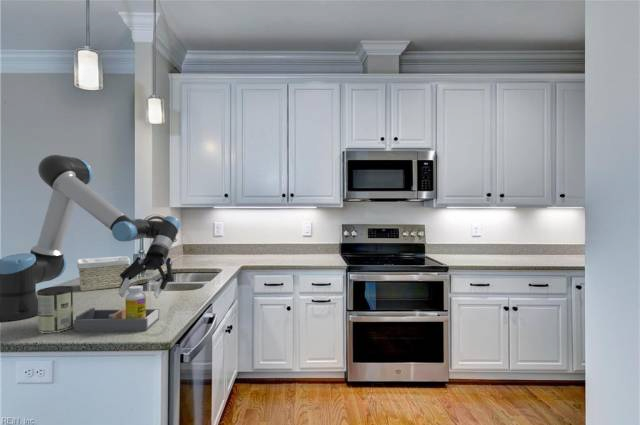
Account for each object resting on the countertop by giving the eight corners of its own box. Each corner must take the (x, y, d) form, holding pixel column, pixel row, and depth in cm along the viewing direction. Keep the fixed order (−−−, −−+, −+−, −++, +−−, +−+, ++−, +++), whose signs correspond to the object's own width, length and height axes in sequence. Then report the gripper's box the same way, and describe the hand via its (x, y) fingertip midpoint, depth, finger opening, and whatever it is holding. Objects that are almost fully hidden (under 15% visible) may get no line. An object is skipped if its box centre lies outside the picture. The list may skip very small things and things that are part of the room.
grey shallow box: (74, 331, 133) (74, 317, 133) (93, 320, 146) (93, 307, 146) (146, 330, 135) (146, 316, 135) (159, 319, 148) (159, 306, 148)
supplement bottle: (138, 325, 137) (137, 289, 137) (121, 324, 139) (121, 288, 138) (149, 319, 144) (149, 285, 143) (133, 318, 145) (133, 284, 145)
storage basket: (77, 292, 190) (76, 262, 190) (77, 286, 204) (76, 258, 204) (131, 287, 203) (131, 259, 203) (127, 281, 217) (127, 255, 217)
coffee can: (50, 324, 141) (50, 285, 141) (79, 324, 141) (79, 285, 141) (30, 334, 131) (29, 292, 130) (61, 333, 131) (61, 292, 131)
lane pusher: (103, 326, 135) (103, 315, 135) (115, 318, 145) (115, 307, 145) (115, 326, 136) (115, 315, 136) (127, 317, 146) (127, 307, 146)
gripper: (192, 255, 157) (174, 302, 143) (134, 254, 160) (110, 299, 145) (186, 244, 152) (167, 291, 137) (126, 242, 154) (101, 288, 140)
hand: (138, 295), depth 141 cm, fingers open, 13 cm apart
